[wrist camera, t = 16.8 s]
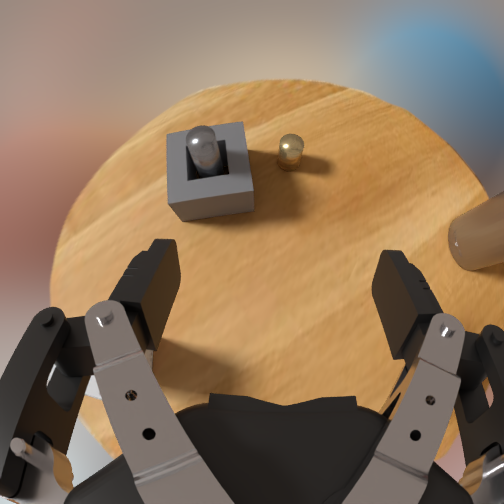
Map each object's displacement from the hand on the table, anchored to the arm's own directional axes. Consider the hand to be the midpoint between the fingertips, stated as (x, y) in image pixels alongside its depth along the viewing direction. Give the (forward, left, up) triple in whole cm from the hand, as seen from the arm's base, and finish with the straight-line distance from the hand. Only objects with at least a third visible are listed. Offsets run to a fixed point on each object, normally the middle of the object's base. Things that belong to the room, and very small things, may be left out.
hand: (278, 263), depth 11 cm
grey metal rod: (+5, -17, -27) cm, 32 cm away
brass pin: (-6, -19, -27) cm, 33 cm away
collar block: (+5, -17, -27) cm, 32 cm away
